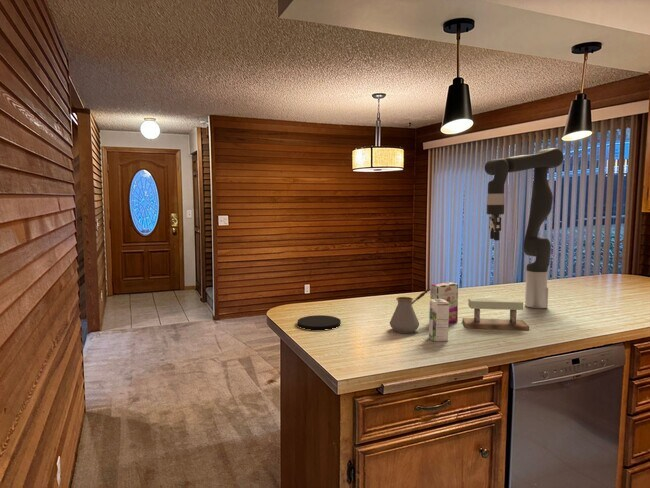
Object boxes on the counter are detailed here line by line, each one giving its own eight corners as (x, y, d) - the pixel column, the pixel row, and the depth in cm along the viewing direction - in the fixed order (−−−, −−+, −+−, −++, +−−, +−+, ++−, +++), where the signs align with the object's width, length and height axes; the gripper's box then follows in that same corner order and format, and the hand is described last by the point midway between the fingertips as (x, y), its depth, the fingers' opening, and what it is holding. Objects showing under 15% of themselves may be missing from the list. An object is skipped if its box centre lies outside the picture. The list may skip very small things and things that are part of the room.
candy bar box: (449, 319, 195) (450, 281, 194) (457, 322, 191) (458, 283, 189) (429, 322, 190) (429, 284, 189) (437, 325, 186) (438, 286, 184)
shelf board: (518, 306, 186) (519, 299, 186) (523, 310, 180) (523, 302, 180) (468, 305, 189) (468, 298, 189) (470, 308, 183) (471, 301, 183)
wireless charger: (336, 319, 198) (336, 314, 198) (344, 330, 181) (344, 325, 181) (295, 321, 195) (295, 316, 195) (300, 332, 178) (300, 327, 178)
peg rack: (522, 323, 188) (523, 305, 187) (529, 330, 178) (529, 311, 178) (462, 321, 192) (462, 303, 191) (465, 327, 182) (466, 309, 182)
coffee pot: (405, 336, 171) (405, 297, 169) (383, 330, 180) (383, 292, 178) (441, 326, 184) (441, 290, 182) (419, 321, 193) (419, 286, 191)
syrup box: (428, 337, 170) (428, 298, 169) (443, 336, 171) (444, 298, 169) (433, 341, 164) (433, 302, 163) (448, 341, 165) (449, 301, 164)
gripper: (507, 204, 198) (506, 241, 199) (500, 203, 212) (499, 238, 213) (489, 204, 199) (488, 241, 201) (484, 203, 213) (483, 238, 215)
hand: (494, 239), depth 207 cm, fingers open, 8 cm apart
